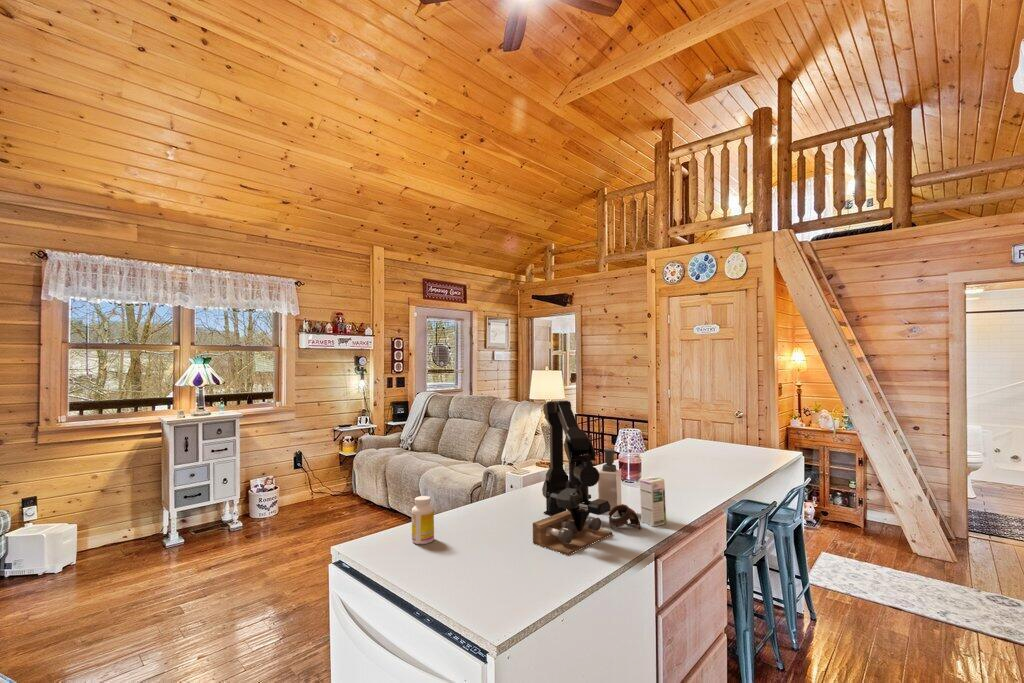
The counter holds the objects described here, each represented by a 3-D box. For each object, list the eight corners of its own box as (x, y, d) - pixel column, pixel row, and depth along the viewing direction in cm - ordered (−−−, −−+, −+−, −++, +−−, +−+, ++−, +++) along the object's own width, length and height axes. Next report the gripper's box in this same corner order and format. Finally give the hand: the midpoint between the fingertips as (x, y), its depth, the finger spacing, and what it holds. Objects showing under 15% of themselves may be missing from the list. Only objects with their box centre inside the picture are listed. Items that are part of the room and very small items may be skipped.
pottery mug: (646, 534, 147) (634, 513, 146) (618, 546, 148) (606, 525, 147) (638, 512, 159) (627, 492, 157) (612, 524, 160) (601, 504, 159)
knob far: (573, 526, 149) (573, 513, 150) (580, 523, 152) (580, 511, 152) (594, 532, 144) (593, 519, 144) (601, 529, 146) (600, 516, 147)
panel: (533, 543, 140) (532, 522, 140) (578, 524, 155) (578, 506, 156) (567, 555, 131) (567, 533, 131) (612, 534, 146) (611, 514, 146)
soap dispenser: (623, 509, 171) (621, 447, 172) (617, 516, 163) (615, 452, 164) (605, 507, 174) (603, 446, 175) (599, 514, 166) (597, 450, 167)
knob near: (543, 538, 140) (543, 524, 140) (552, 534, 142) (552, 521, 142) (564, 545, 134) (564, 531, 134) (573, 541, 137) (572, 527, 137)
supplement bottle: (438, 538, 146) (437, 495, 146) (427, 546, 139) (426, 501, 140) (418, 535, 148) (418, 494, 148) (407, 543, 141) (407, 500, 142)
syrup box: (653, 527, 152) (652, 481, 153) (640, 522, 157) (639, 477, 158) (666, 524, 154) (665, 479, 155) (653, 519, 160) (652, 475, 160)
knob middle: (551, 529, 147) (551, 516, 147) (559, 526, 149) (558, 514, 150) (571, 535, 141) (571, 522, 141) (579, 532, 144) (578, 519, 144)
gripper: (537, 478, 143) (538, 530, 142) (588, 489, 130) (589, 547, 129) (560, 471, 151) (561, 521, 150) (610, 481, 138) (612, 535, 137)
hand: (579, 530), depth 141 cm, fingers closed
